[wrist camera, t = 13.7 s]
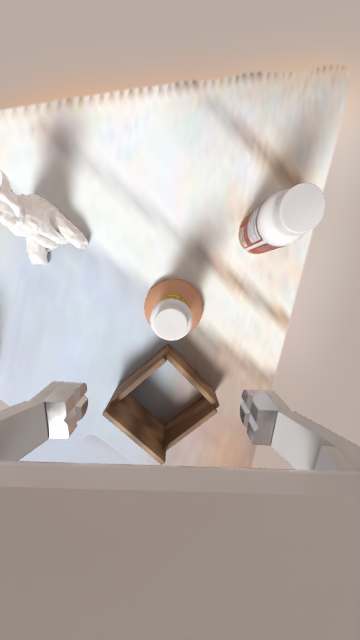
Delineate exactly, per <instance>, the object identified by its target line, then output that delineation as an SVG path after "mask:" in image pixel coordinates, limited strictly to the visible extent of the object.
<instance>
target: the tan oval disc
mask: <svg viewBox="0 0 360 640" xmlns="http://www.w3.org/2000/svg"><path fill="white" fill-rule="evenodd" d="M170 294H176V295H179V296H181V297H183V298H184V299H185V300H186V301H187V303H188V305H189V307H190V310H191V313H192V317H193V323H192V327H191V329H190V331H192V330H193V329H194V328H195V327H196V326H197V325H198V323H199V321H200V319H201V316H202V312H203V304H202V300H201V297H200V295H199V293H198V291H197V290H196V289H195V288H194V287H193V286H192V285H191V284H189V283H187V282H185V281H183V280H179V279H168V280H164V281H162V282H160V283H158V284H156V285H155V286H154V287H153V288H152V289H151V290H150V291H149V293H148V295H147V297H146V300H145V306H144V310H145V316H146V319H147V321H148V322H149V324H150V325H151V323H150V316H151V312H152V310H153V308H154V307H155V306H156V304H157V303H158V302H159V301H160V300H161V299H162V298H163V297H165V296H167V295H170ZM190 331H189V332H190ZM189 332H188V333H189Z"/></svg>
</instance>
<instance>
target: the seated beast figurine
mask: <svg viewBox="0 0 360 640" xmlns="http://www.w3.org/2000/svg"><path fill="white" fill-rule="evenodd" d="M0 222H1V223H2V224H3V225H5V226H7V228H8V229H10V230H11V231H12V233H14V234H15V235H16V236H24V237H25V242H26V251H27V252H28V256H29V257H30V260H31V263H32V264H48V260H47V255H48V252H50V251H51V250H53V249H55V248H58V246H59V245H58V244H62V245H65V244H68V243H69V242H70V243H72V244H74V245H75V246H76V247H78V248H80V249H84V248H86V245H87V246H88V241H87V239H86V238H85V236H84V234H83V233H82V232H81V231H80V230H79V229H78V228H76V227H75V225H73V224H72V222H70V221H69V220H68V219H66V218H65V216H64V215H63V214H62V213H61V212H60V211H59V210H57V208H56V207H55V206H53V205H52V203H50V202H49V201H48V200H47V199H44V198H42V197H40V196H39V195H37V194H36V195H33V194H31V195H30V194H29V195H23V194H22V195H16V194H15V193H14V192H13V191H12V189H11V185H10V182H9V180H8V178H7V177H6V175H5V174H4V173H3V172H2V171H0Z"/></svg>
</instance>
